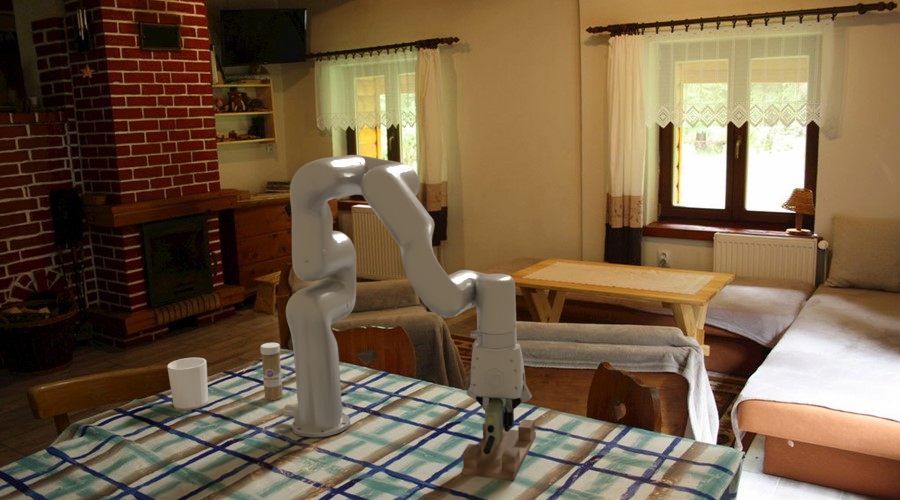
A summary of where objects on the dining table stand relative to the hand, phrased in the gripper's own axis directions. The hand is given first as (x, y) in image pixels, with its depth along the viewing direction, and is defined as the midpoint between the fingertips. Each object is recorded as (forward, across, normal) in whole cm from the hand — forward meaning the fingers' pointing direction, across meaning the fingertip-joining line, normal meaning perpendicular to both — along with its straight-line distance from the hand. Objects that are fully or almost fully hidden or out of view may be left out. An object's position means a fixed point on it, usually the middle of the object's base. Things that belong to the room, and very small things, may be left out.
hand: (499, 427), depth 154 cm
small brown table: (+6, 0, 0) cm, 6 cm away
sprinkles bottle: (+6, -62, +19) cm, 65 cm away
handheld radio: (+1, -1, 0) cm, 1 cm away
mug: (+6, -81, +11) cm, 82 cm away
